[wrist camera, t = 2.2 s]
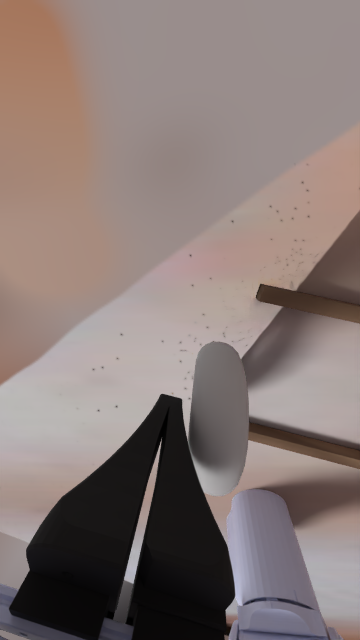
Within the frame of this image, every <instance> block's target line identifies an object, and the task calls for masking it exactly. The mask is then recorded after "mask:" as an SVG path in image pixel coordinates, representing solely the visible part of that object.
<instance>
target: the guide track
mask: <svg viewBox="0 0 360 640" xmlns="http://www.w3.org/2000/svg"><path fill="white" fill-rule="evenodd" d="M256 299H257V300H259V301H261V302H265V303H270V304H274V305H279V306H283V307H288V308H292V309H297V310H301V311H306V312H310V313H315V314H319V315H324V316H328V317H333V318H338V319H342V320H347V321H351V322H356V323H360V305H356V304H352V303H347V302H342V301H338V300H333V299H329V298H324V297H319V296H315V295H310V294H305V293H301V292H296V291H291V290H287V289H282V288H278V287H273V286H268V285H264V284H260V286H259V289H258V292H257V295H256ZM248 440H251V441H254V442H258V443H262V444H266V445H270V446H273V447H277V448H281V449H285V450H289V451H293V452H296V453H300V454H304V455H308V456H312V457H315V458H319V459H323V460H327V461H331V462H335V463H338V464H342V465H346V466H350V467H354V468H357V469H360V451H359V450H355V449H351V448H347V447H343V446H340V445H336V444H332V443H328V442H324V441H320V440H316V439H312V438H308V437H305V436H301V435H297V434H293V433H289V432H285V431H281V430H277V429H273V428H269V427H266V426H262V425H258V424H254V423H250V422H249V433H248Z"/></svg>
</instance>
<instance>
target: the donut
mask: <svg viewBox="0 0 360 640" xmlns="http://www.w3.org/2000/svg"><path fill="white" fill-rule="evenodd" d="M248 433H249V400H248V390H247V380H246V375H245V370H244V366H243V364H242V361H241V359H240V357H239V354H238V352H237V351H236V350H235V349H234V348H233V347H232V346H230V345H229V344H227V343H223V342H211V343H208V344H206V345H205V346H204V347H202V348H201V350H200V351H199V353H198V355H197V359H196V365H195V373H194V382H193V392H192V402H191V413H190V424H189V436H188V445H189V449H190V453H191V456H192V460H193V463H194V466H195V470H196V473H197V476H198V479H199V481H200V484H201V487H202V489H203V492H204V493H207V494H209V495H212V496H224V495H226V494H228V493H230V492H232V491H233V489H234V488H235V487H236V486H237V485H238V482H239V480H240V477H241V475H242V472H243V469H244V466H245V461H246V455H247V448H248Z"/></svg>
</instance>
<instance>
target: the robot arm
mask: <svg viewBox="0 0 360 640" xmlns="http://www.w3.org/2000/svg"><path fill="white" fill-rule="evenodd" d="M161 439H162V442H161ZM160 442H161V449H160V456H159V463H158V470H157V477H156V482H155V488H154V493H153V497H152V502H151V506H150V511H149V516H148V520H147V525H146V529H145V534H144V539H143V543H142V548H141V552H140V557H139V561H138V566H137V570H136V575H135V580H134V584H133V589H132V594H131V598H130V603H129V607H128V611H127V616H126V620H125V624H124V623H121V622H118V621H115V620H113V617H114V613H115V610H116V609H117V605H118V600H119V597H120V593H121V588H122V585H123V581H124V576H125V572H126V568H127V564H128V560H129V556H130V552H131V548H132V544H133V540H134V536H135V532H136V527H137V523H138V519H139V515H140V511H141V507H142V503H143V499H144V495H145V491H146V487H147V483H148V480H149V476H150V473H151V470H152V467H153V464H154V461H155V458H156V455H157V452H158V448H159V445H160ZM226 520H227V533H228V546H229V551H228V547H227V544H226V542H225V540H224V538H223V536H222V534H221V532H220V529H219V527H218V525H217V523H216V521H215V519H214V516H213V514H212V512H211V509H210V507H209V505H208V502H207V500H206V497H205V494H204V492H203V489H202V487H201V484H200V481H199V479H198V476H197V473H196V470H195V466H194V463H193V460H192V456H191V453H190V449H189V445H188V441H187V436H186V431H185V426H184V420H183V411H182V399H181V398H177V397H173V396H169V395H165V394H161V395H160V397H159V399H158V401H157V402H156V404H155V406H154V407H153V409H152V410H151V412H150V413H149V415H148V416H147V417H146V419H145V420H144V421H143V423H142V424H141V425H140V426H139V427H138V429H137V430H136V431H135V432H134V433H133V435H132V436H131V437H130V438H129V439H128V440H127V441H126V442H125V443H124V444H123V445H122V446H121V447H120V448H119V449H118V450H117V451H116V452H115V453H114V454H113V455H112V456H111V457H110V458H109V459H108V460H107V461H106V462H105V463H104V464H102V465H101V466H100V467H99V468H98V469H97V470H95V471H94V472H93V473H92V474H91V475H90V476H89V477H87V478H86V479H85V480H84V481H82V482H81V483H80V484H78V485H77V486H76V487H74V488H73V489H72V490H71V491H69V492H68V493H67V494H65V495H64V496H63V497H62V498H61V499H60V500H59V501H58V502H57V504H56V505H55V506H54V507H53V509H52V510H51V511H50V513H49V514H48V515H47V517H46V518H45V520H44V521H43V522H42V524H41V525H40V527H39V529H38V530H37V532H36V534H35V535H34V537H33V539H32V540H31V542H30V544H29V545H28V547H27V549H26V556H27V561H28V564H29V568H30V571H29V572H28V574H27V576H26V578H25V580H24V582H23V583H22V585H21V587H20V589H19V590H18V589H15V588H12V587H9V586H6V585H3V584H0V630H3V631H6V632H9V633H12V634H15V635H18V636H21V637H24V638H27V639H30V640H225V639H224V632H226V611H225V610H226V609H227V607H228V606H229V605H230V604H231V603H232V602H233V600H234V598H235V597H236V600H237V602H238V605H239V606H237V612H238V620H235V621H234V622H233V625H232V629H231V632H230V635H229V639H228V640H344V639H343V638H342V637H341V636H340V635H339V634H338V633H337V631H336V629H335V628H333V627H328V628H327V626H326V624H325V622H324V619H323V617H322V615H321V612H320V609H319V606H318V603H317V599H316V596H315V593H314V590H313V587H312V584H311V581H310V577H309V574H308V571H307V568H306V565H305V562H304V559H303V555H302V552H301V549H300V546H299V543H298V540H297V537H296V533H295V530H294V527H293V524H292V521H291V518H290V515H289V511H288V508H287V505H286V503H285V501H284V500H283V499H282V498H281V497H280V496H279V495H277V494H275V493H273V492H270V491H267V490H262V489H249V490H244V491H241V492H239V493H237V494H236V495H235V496H234V497H233V499H232V508H231V511H230V513H229V515H228V517H227V519H226ZM0 640H8V639H6V638H3V637H1V636H0Z"/></svg>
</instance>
